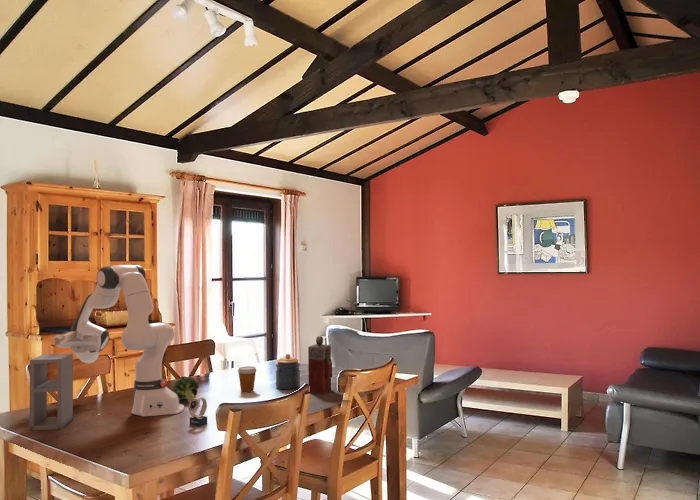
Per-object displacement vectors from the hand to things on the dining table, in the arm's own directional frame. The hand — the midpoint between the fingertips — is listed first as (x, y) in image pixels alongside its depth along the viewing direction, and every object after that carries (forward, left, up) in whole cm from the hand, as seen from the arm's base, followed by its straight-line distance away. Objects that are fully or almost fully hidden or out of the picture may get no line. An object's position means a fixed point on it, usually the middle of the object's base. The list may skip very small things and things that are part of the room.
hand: (72, 334), depth 264 cm
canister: (-98, -30, -34) cm, 108 cm away
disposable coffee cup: (-77, -24, -34) cm, 88 cm away
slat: (0, +8, -2) cm, 8 cm away
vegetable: (-49, -10, -34) cm, 61 cm away
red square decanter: (-115, -18, -34) cm, 122 cm away
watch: (-60, +34, -34) cm, 77 cm away
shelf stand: (0, +23, -34) cm, 41 cm away
